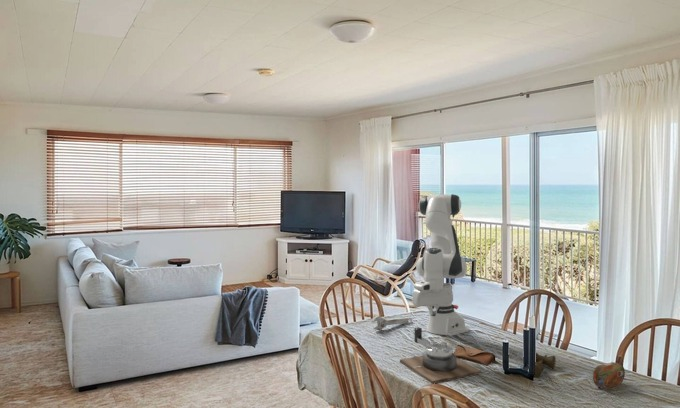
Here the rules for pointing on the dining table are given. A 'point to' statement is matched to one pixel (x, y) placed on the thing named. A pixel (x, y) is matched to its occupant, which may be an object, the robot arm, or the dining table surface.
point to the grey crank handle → (434, 347)
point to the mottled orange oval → (608, 375)
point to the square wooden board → (439, 368)
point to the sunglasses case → (474, 355)
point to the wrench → (389, 322)
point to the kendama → (542, 360)
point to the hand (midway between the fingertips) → (433, 314)
